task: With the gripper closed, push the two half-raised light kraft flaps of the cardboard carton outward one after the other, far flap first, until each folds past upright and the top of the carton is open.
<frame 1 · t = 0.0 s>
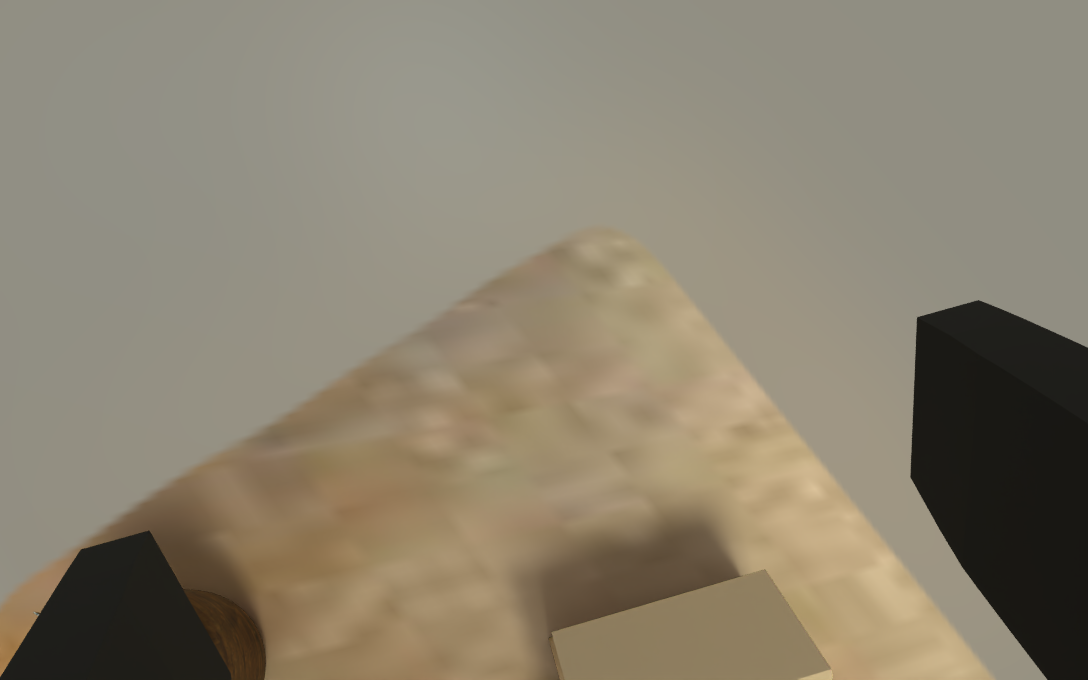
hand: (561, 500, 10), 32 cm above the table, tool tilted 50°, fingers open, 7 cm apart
utensil holder: (196, 671, 40), on the table
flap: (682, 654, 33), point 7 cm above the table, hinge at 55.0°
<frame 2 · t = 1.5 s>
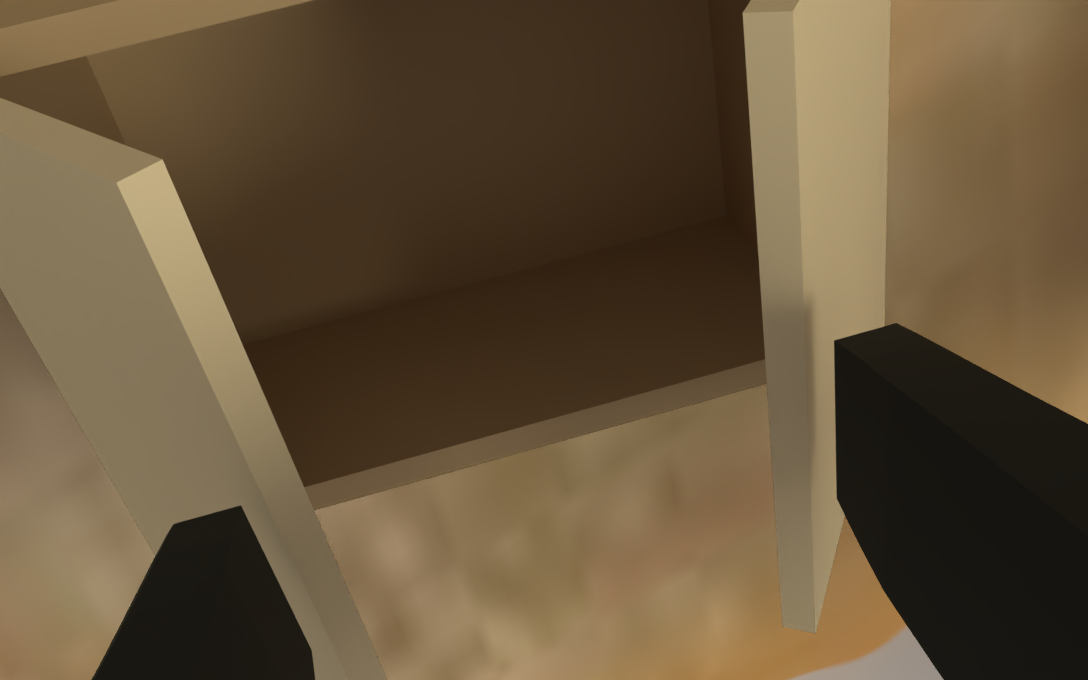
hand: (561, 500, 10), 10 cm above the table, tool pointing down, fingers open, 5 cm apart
carton: (430, 102, 18), on the table
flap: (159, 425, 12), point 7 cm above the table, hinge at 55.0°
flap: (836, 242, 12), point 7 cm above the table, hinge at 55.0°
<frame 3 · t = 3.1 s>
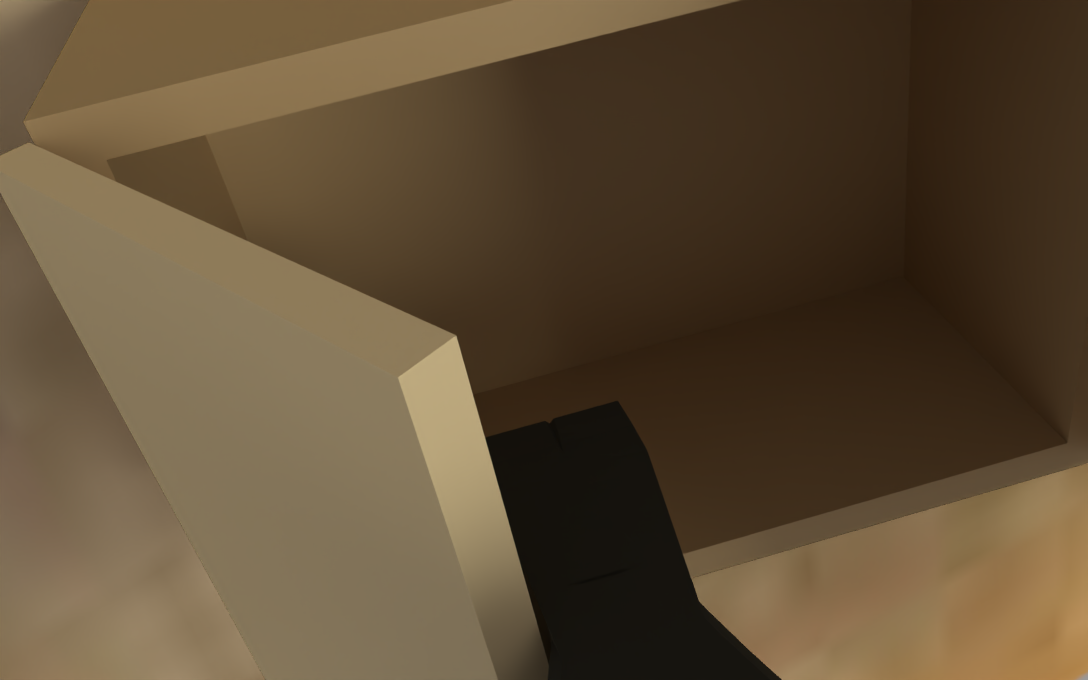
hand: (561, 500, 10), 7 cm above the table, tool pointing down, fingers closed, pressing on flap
carton: (580, 151, 16), on the table
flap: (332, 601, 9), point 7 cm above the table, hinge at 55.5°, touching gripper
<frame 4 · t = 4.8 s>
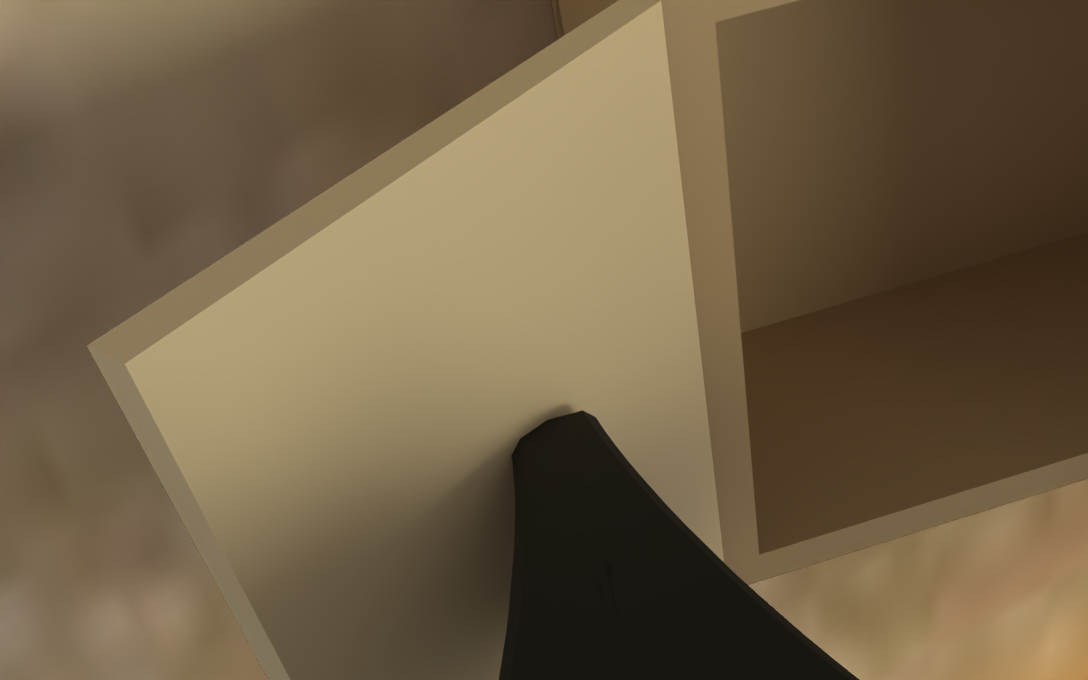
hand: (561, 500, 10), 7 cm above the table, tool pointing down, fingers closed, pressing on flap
carton: (926, 69, 16), on the table
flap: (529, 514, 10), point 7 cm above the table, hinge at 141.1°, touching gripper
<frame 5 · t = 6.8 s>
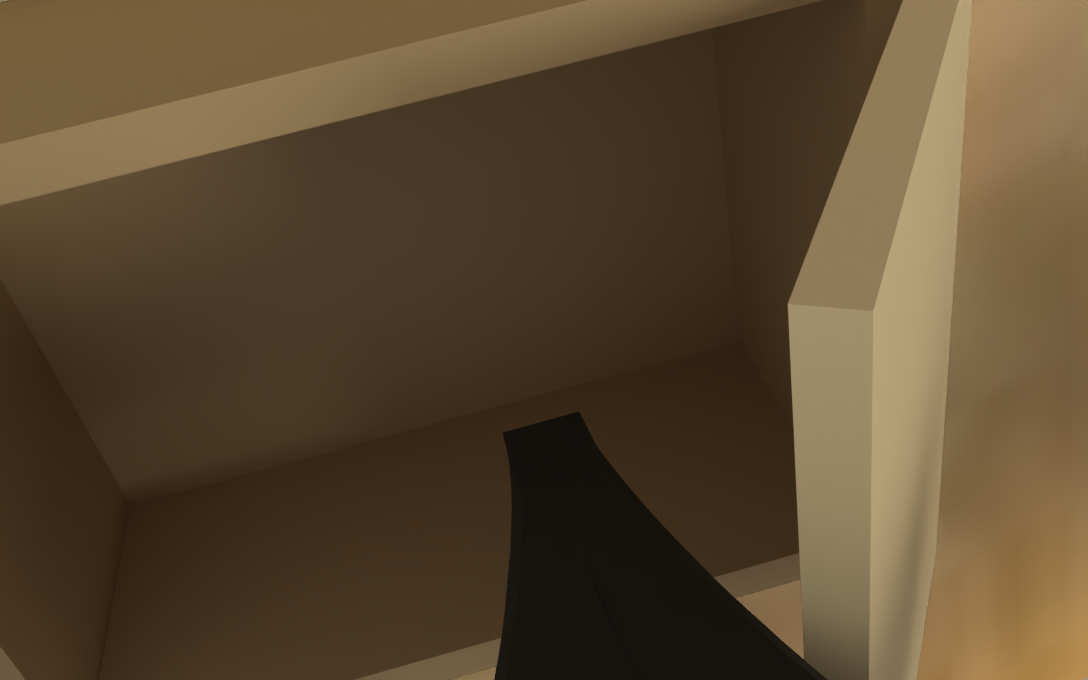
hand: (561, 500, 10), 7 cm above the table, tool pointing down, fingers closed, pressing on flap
carton: (380, 218, 15), on the table
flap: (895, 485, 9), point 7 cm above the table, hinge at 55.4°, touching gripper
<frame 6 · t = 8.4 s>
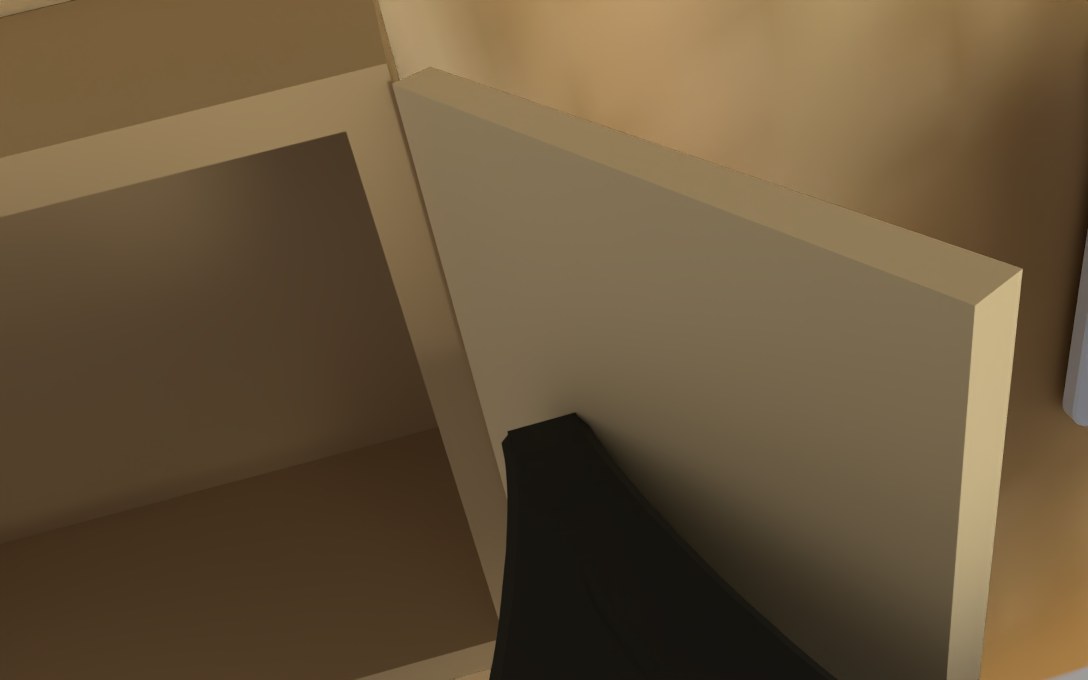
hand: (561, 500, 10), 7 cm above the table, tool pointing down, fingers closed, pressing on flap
carton: (63, 306, 15), on the table
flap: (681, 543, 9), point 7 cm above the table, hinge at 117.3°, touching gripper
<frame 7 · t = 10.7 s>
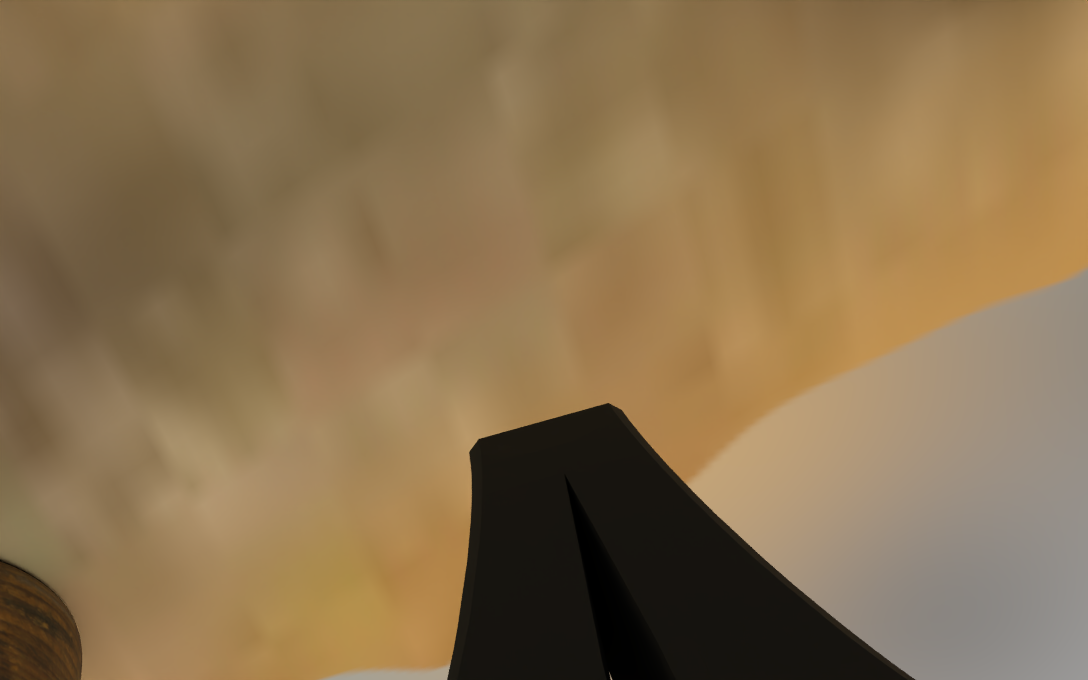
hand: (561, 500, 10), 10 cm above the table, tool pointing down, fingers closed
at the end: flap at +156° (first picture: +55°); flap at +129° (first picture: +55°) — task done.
